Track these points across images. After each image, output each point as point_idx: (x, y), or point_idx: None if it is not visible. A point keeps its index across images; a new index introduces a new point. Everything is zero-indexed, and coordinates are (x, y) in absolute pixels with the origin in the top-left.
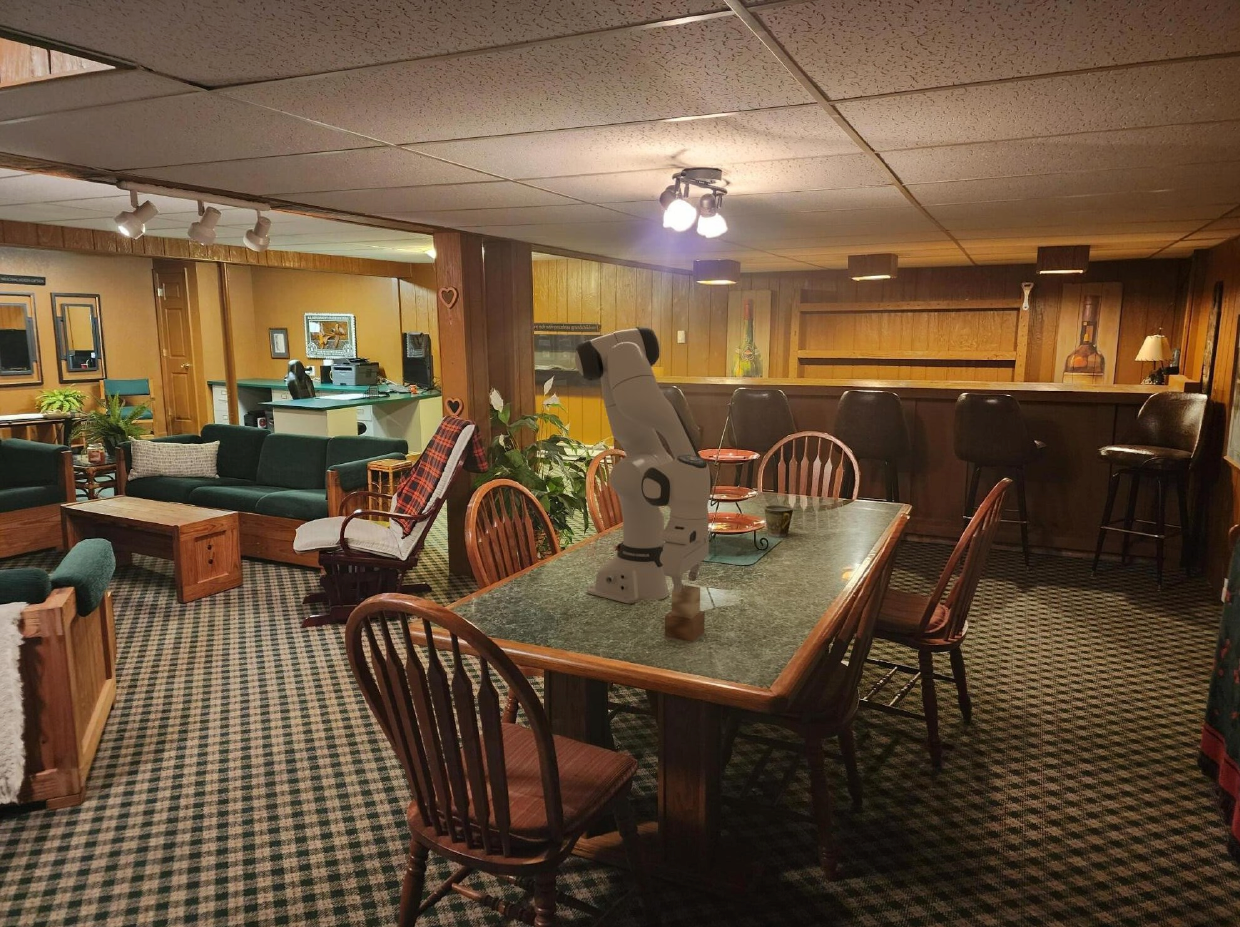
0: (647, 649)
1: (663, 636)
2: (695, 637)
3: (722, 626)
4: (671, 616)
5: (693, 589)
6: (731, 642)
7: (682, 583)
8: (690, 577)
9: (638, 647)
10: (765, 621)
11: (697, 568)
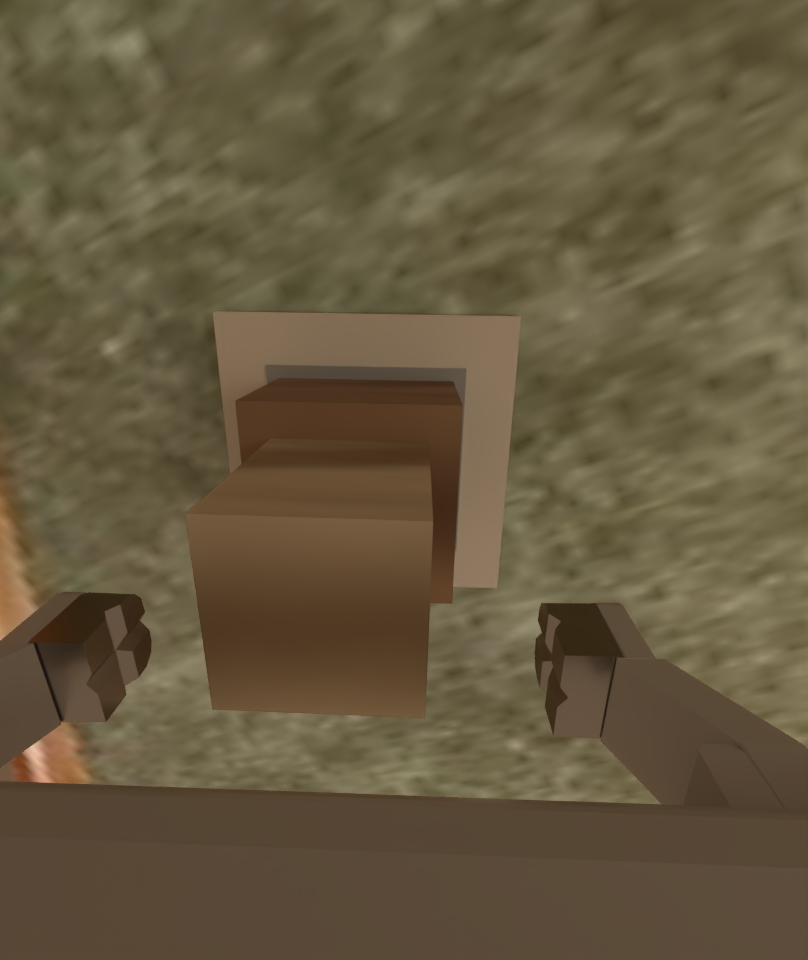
0: (143, 332)
1: (279, 369)
2: None
3: (626, 559)
4: (250, 446)
5: (330, 686)
6: (433, 648)
7: (104, 713)
8: (550, 635)
9: (137, 273)
10: (759, 704)
11: (658, 786)
